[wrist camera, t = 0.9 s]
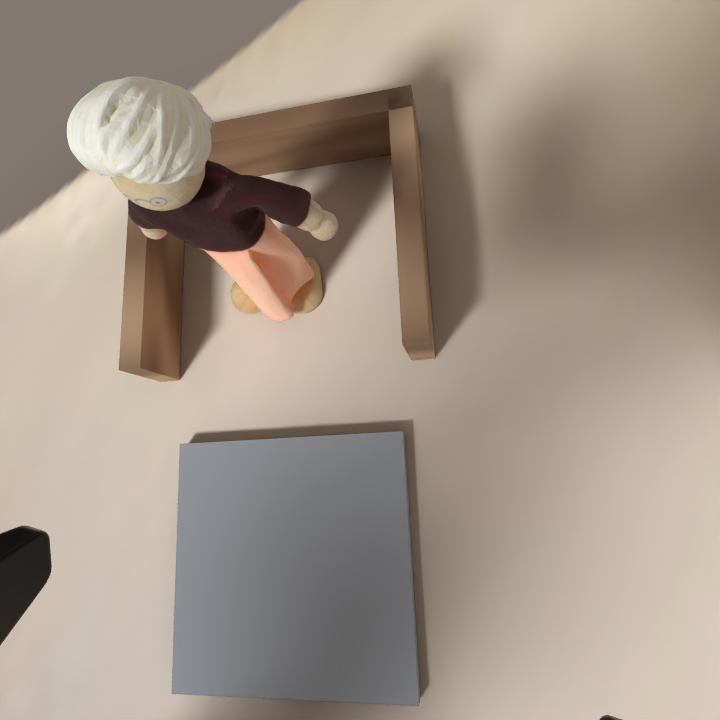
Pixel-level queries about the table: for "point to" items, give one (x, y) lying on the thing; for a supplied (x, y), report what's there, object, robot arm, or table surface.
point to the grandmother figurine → (200, 192)
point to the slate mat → (296, 570)
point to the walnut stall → (273, 155)
